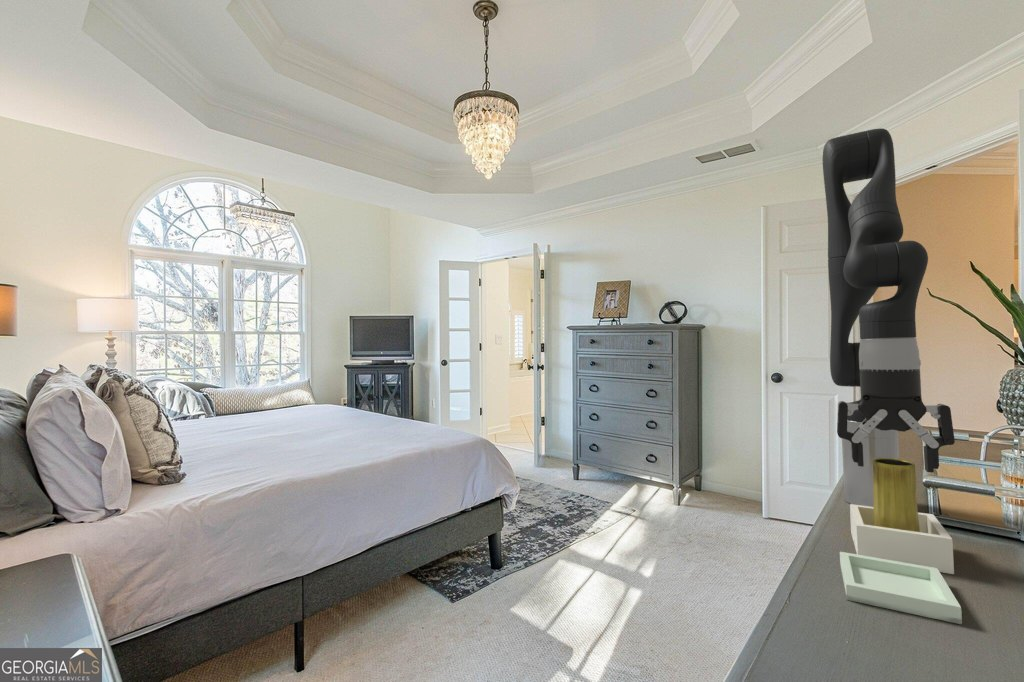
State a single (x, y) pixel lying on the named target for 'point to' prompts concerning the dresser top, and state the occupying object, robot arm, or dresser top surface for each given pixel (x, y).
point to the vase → (895, 494)
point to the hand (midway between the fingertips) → (893, 468)
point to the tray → (899, 587)
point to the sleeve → (902, 540)
